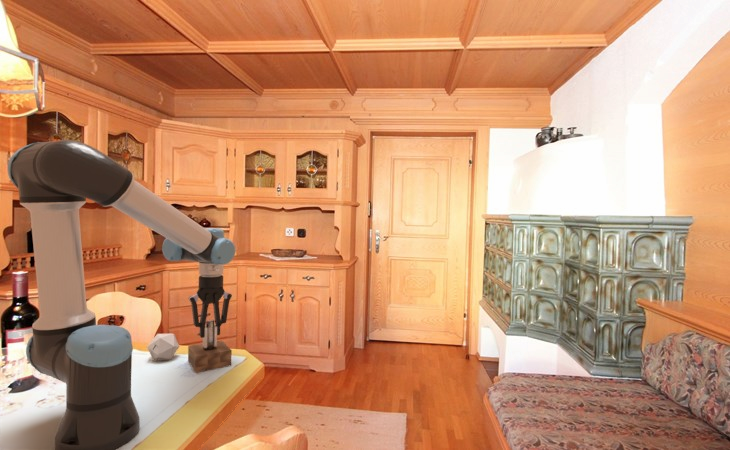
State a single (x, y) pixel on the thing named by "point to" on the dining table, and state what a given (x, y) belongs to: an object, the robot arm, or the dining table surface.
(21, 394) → the dining table surface
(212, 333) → the pin
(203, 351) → the socket block
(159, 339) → the die
